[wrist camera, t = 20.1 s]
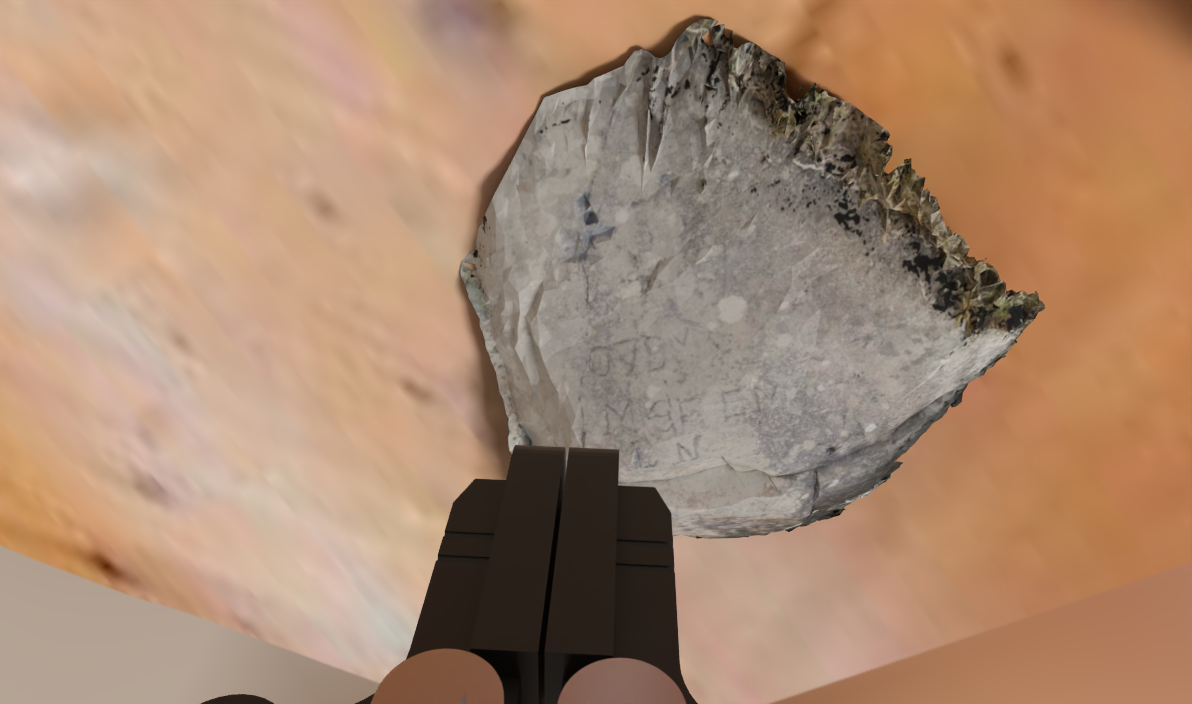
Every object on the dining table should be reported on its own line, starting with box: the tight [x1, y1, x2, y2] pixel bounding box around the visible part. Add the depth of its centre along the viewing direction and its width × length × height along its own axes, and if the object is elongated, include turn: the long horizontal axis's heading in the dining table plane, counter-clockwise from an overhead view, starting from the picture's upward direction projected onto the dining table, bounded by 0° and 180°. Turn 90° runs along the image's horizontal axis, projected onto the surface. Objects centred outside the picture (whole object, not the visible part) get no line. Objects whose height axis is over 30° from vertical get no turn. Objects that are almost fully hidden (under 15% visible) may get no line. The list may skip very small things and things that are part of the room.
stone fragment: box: [461, 19, 1045, 538], centre depth 41 cm, size 25×29×6 cm
